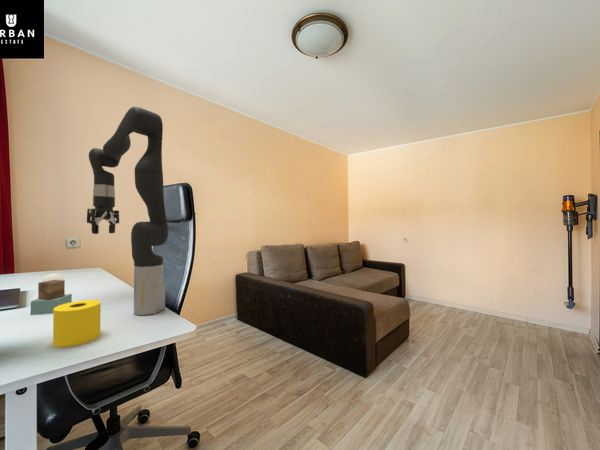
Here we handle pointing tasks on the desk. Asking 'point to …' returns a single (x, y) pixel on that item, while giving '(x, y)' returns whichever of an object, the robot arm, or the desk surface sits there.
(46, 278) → the light bulb
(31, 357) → the desk surface
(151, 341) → the desk surface
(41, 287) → the walnut block
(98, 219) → the robot arm
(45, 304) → the teal block
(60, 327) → the yellow holed block
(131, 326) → the desk surface
